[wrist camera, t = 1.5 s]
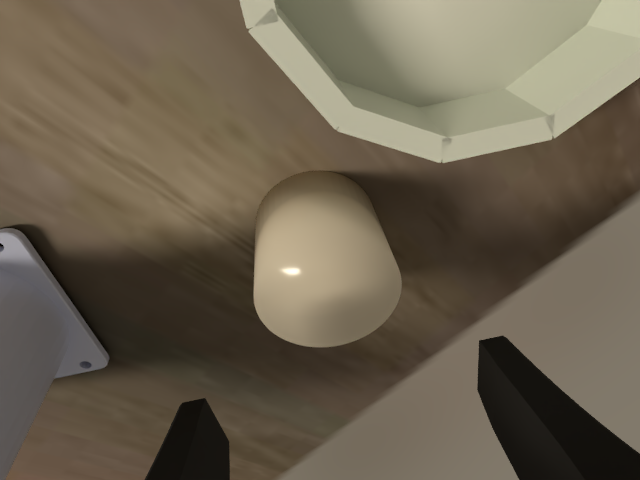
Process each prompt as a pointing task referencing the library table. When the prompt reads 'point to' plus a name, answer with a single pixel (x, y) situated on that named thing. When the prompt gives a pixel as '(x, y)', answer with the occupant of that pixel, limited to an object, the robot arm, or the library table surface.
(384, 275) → the marshmallow
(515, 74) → the bowl
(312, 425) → the library table surface
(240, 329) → the library table surface
